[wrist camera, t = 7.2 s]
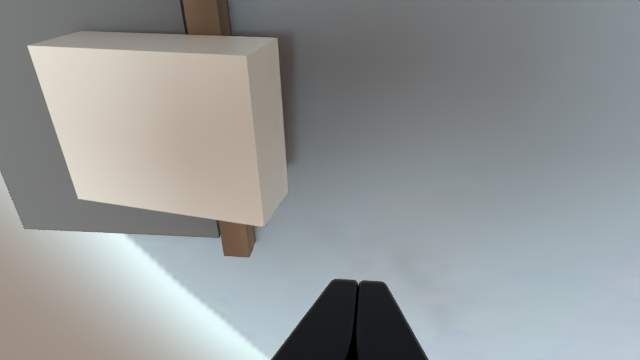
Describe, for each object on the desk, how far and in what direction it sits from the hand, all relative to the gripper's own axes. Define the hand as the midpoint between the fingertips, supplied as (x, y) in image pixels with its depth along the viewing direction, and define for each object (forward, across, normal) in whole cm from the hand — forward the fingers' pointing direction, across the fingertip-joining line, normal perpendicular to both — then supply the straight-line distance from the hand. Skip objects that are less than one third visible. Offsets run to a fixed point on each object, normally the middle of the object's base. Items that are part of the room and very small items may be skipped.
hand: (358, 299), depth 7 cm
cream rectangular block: (+8, +3, +1) cm, 9 cm away
